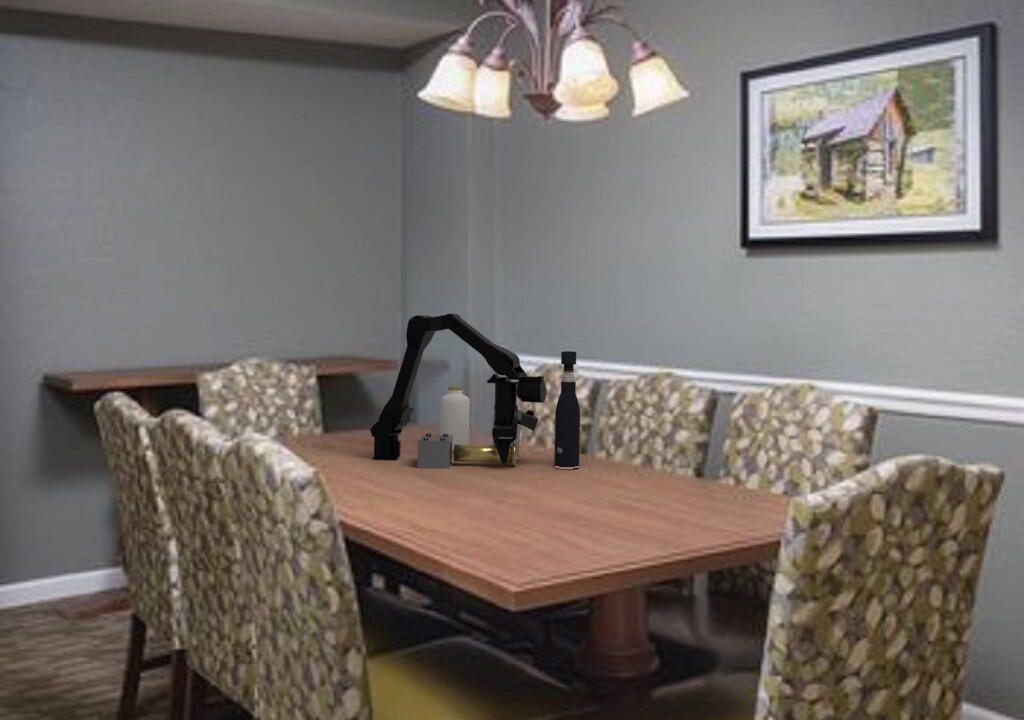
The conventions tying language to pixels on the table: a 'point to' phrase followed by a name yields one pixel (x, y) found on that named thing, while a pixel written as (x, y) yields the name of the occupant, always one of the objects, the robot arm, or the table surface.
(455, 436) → the white bottle
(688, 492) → the table surface
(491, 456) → the brass cylinder
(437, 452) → the housing
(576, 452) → the black water bottle
